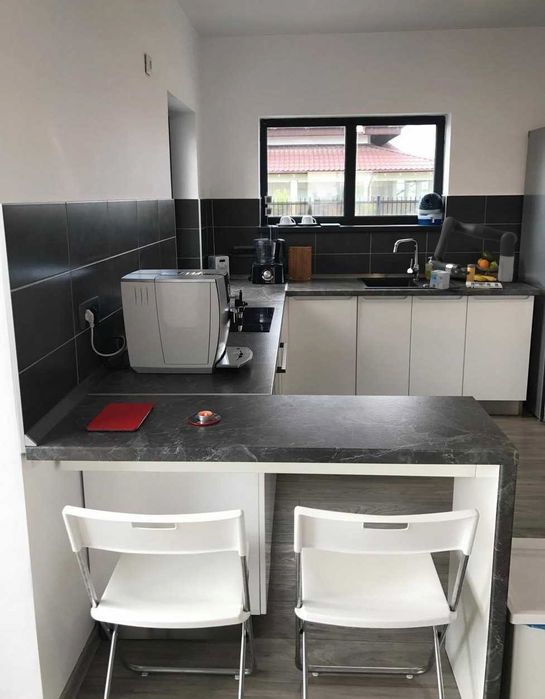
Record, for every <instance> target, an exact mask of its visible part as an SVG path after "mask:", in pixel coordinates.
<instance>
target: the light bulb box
mask: <svg viewBox="0 0 545 699" xmlns="http://www.w3.org/2000/svg"><path fill="white" fill-rule="evenodd" d="M450 276H451V274H450V272H446V271H440V270H435V271H432V270H430V282H429V288H434V289H439V290H447V289H450V288H449V287H450V278H451V277H450Z"/></svg>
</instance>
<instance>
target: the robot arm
mask: <svg viewBox="0 0 545 699" xmlns="http://www.w3.org/2000/svg"><path fill="white" fill-rule="evenodd" d="M440 232H441V233H440V237H439V240H438V243H437V245H436V248H435V252H434V254H433V257H434V258H435V259H433V260H431V261H429V263H432V264H433V266H432V269H433V270H434V271H435V270H440V271H446V272H450V276H451V275H452V276H457V277H458V276H460V275H466V276H467V275H470V271H468V267H463V266H462V265H461V264H455V263H448V262H444V257H445V256H446V253H447V248H448V243H449V239H450V236H451V233H458V234H464V235H466V236H470V237H472V238H475V239H480V240H485V241H495V242H496V241H497V242H500V245H499V246H500V247H499V252H500V254H499V261H498V262H499V264H498V273H497V281H499V282H513V277H514V276H513V274H514V262H515V244H516V243H517V242H518V235H517V234H516V233H515V232H512V231H505V230H504V231H503V230H500V229H496V228H493V227H489V226H486V225H484V224H479V223H478V224H477V223H465V222H462V221H458V220H456V218H455V217H452V216H448V217H445V219H444V220H443V222H442V228H441V231H440ZM429 263H428V264H429ZM478 272H479V271H478V270H477V269H475V274H478ZM475 274H474V275H475Z"/></svg>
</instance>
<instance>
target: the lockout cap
mask: <svg viewBox="0 0 545 699" xmlns="http://www.w3.org/2000/svg"><path fill="white" fill-rule="evenodd" d="M467 268H468V271H470V275H467V274H466V282H475V270H476V264H471V263H470V264H467ZM466 282H465V283H466Z"/></svg>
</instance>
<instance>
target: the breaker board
mask: <svg viewBox="0 0 545 699" xmlns="http://www.w3.org/2000/svg"><path fill="white" fill-rule="evenodd" d="M465 285H466V288H469V287H471V288H473V287H474V288H475V289H489V288H502V289H503V286H502V284H501V283H500V282H483V281H482V282H481V281H474V282H465ZM474 288H473V289H474Z"/></svg>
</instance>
